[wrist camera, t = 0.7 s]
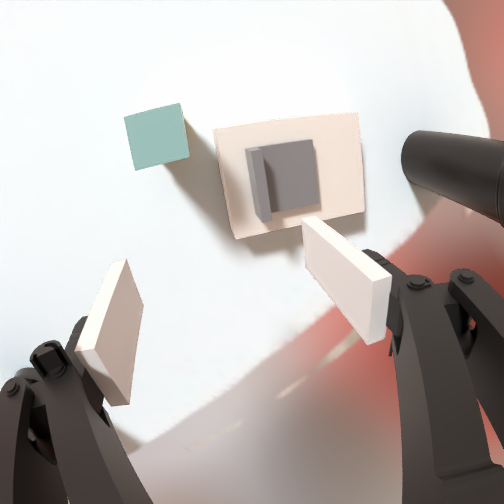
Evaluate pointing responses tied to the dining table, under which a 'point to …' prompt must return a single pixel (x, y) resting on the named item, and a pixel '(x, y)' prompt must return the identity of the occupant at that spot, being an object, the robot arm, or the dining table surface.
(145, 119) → the teal block
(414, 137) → the water bottle
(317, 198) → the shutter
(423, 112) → the dining table surface
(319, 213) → the socket block
